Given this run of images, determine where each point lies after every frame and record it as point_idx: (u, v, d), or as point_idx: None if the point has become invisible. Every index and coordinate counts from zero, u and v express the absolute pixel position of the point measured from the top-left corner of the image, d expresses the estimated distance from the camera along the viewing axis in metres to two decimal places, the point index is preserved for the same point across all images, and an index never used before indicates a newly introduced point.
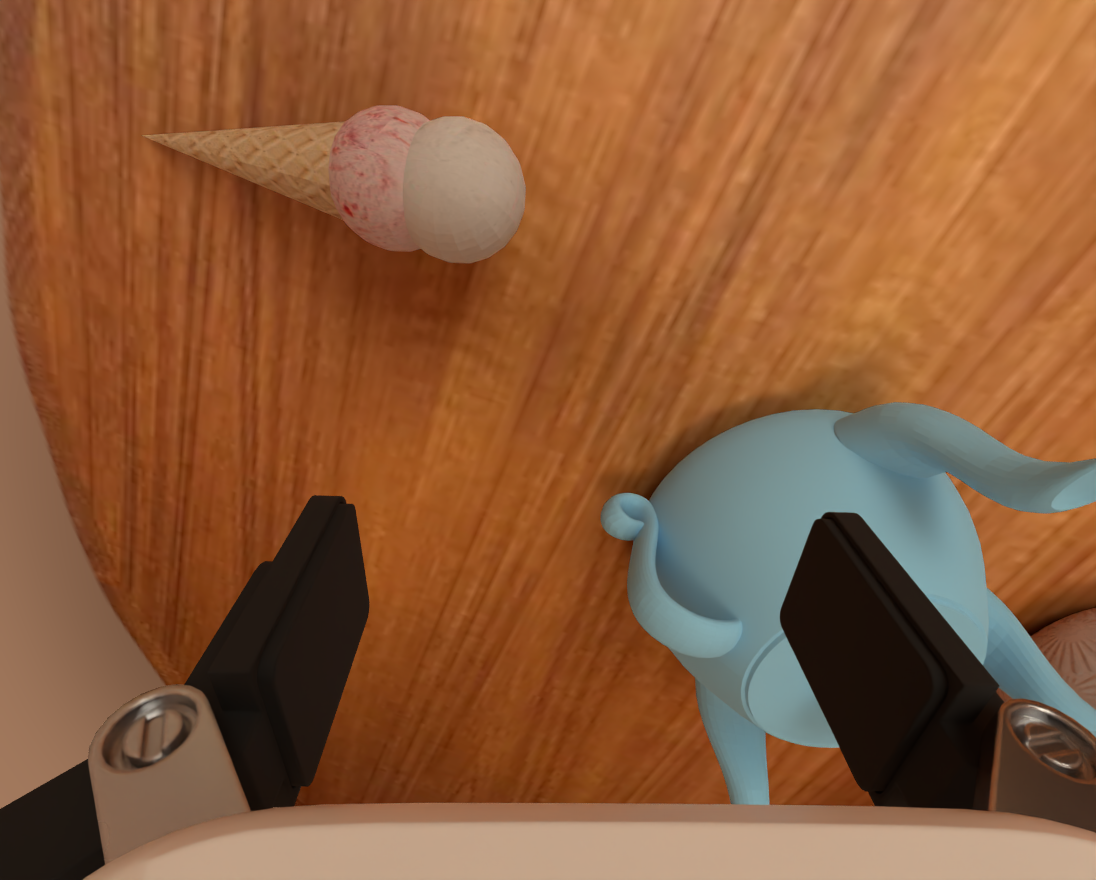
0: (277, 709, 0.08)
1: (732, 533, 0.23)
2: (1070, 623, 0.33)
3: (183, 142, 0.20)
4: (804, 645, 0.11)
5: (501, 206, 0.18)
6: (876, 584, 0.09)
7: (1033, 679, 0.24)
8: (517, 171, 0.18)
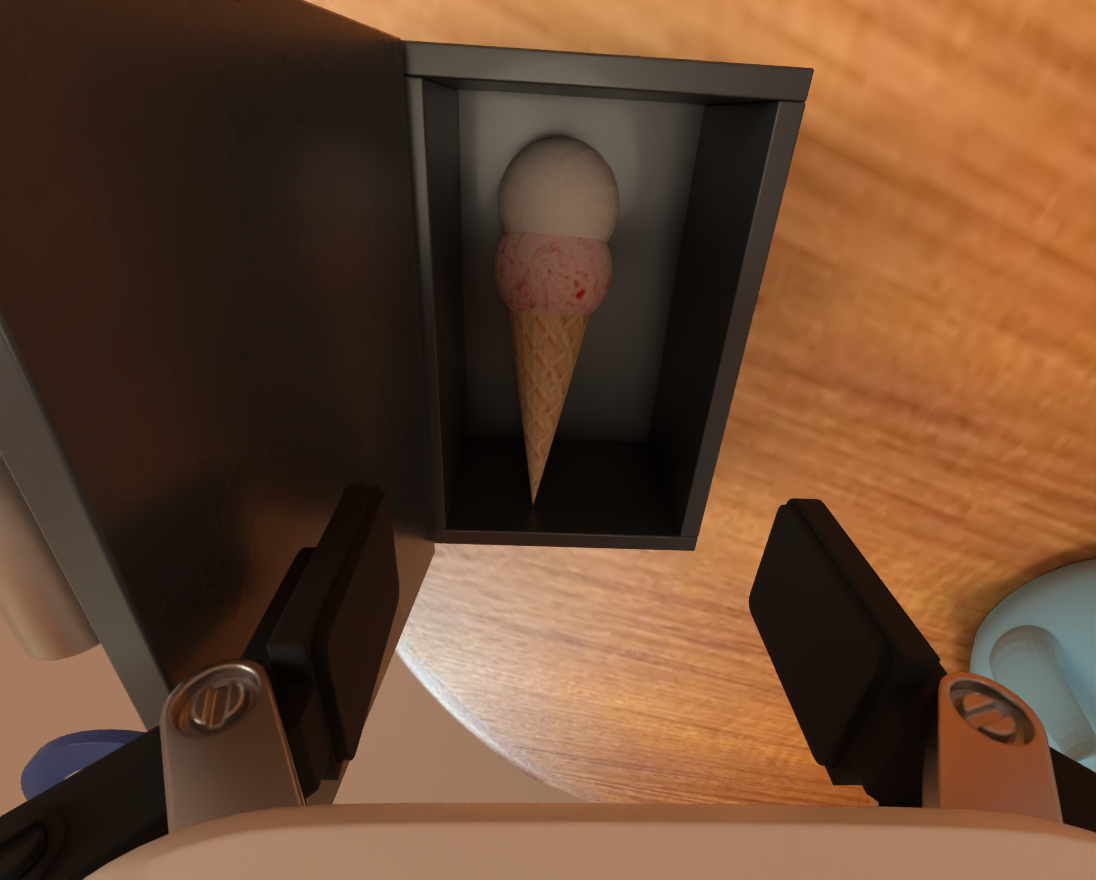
0: (327, 683, 0.08)
1: None
2: None
3: (535, 465, 0.24)
4: (769, 628, 0.11)
5: (567, 143, 0.19)
6: (832, 566, 0.09)
7: None
8: None
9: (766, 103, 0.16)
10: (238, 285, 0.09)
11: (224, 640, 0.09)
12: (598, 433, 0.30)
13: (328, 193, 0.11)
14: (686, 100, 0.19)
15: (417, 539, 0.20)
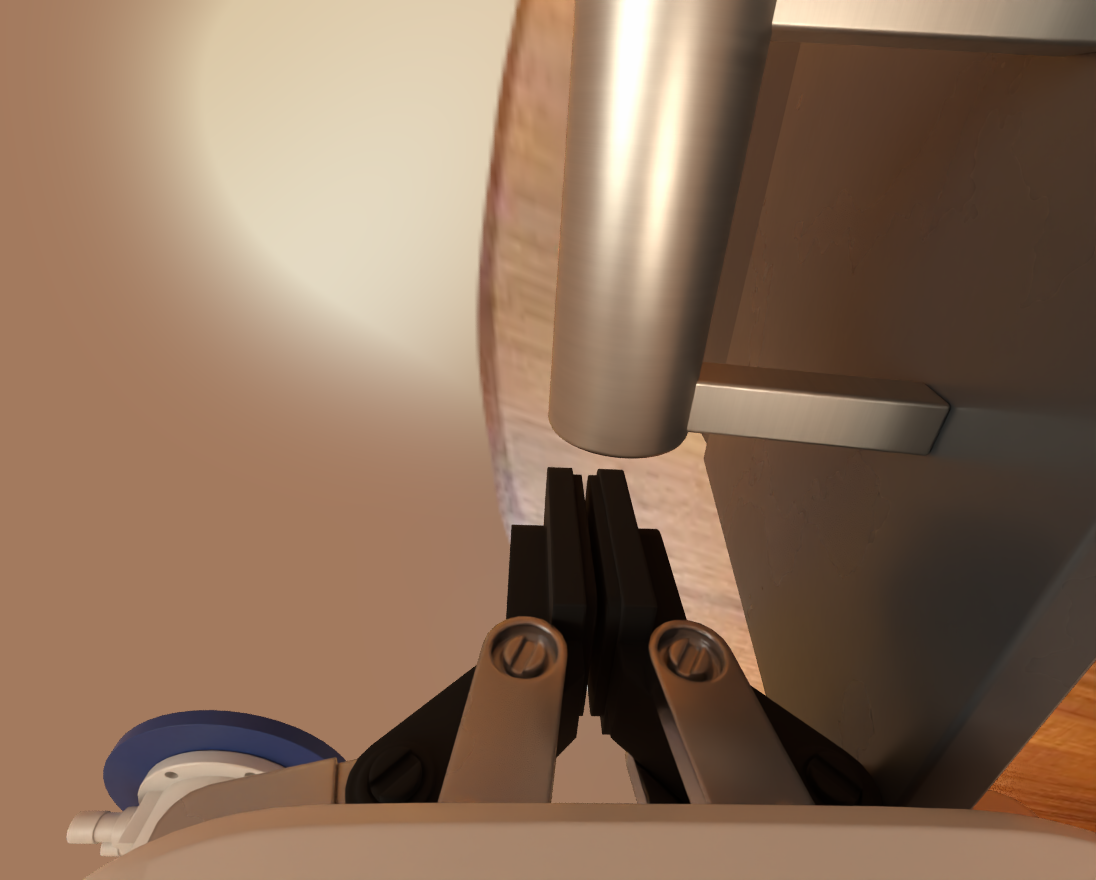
0: (587, 642, 0.09)
1: None
2: None
3: None
4: None
5: None
6: (604, 528, 0.10)
7: None
8: None
9: None
10: None
11: None
12: None
13: None
14: None
15: None
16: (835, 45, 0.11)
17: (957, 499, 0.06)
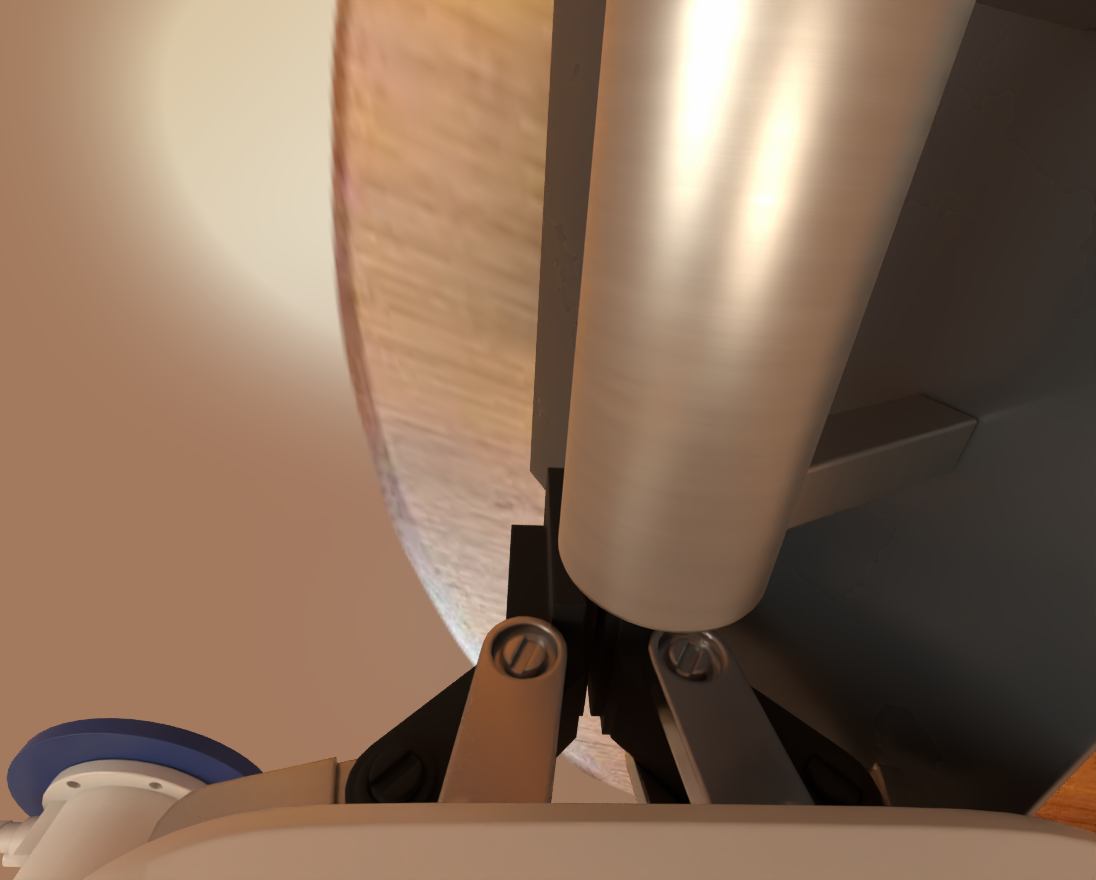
0: (587, 641, 0.09)
1: None
2: None
3: None
4: None
5: None
6: None
7: None
8: None
9: None
10: None
11: None
12: None
13: None
14: None
15: None
16: None
17: (1017, 519, 0.06)
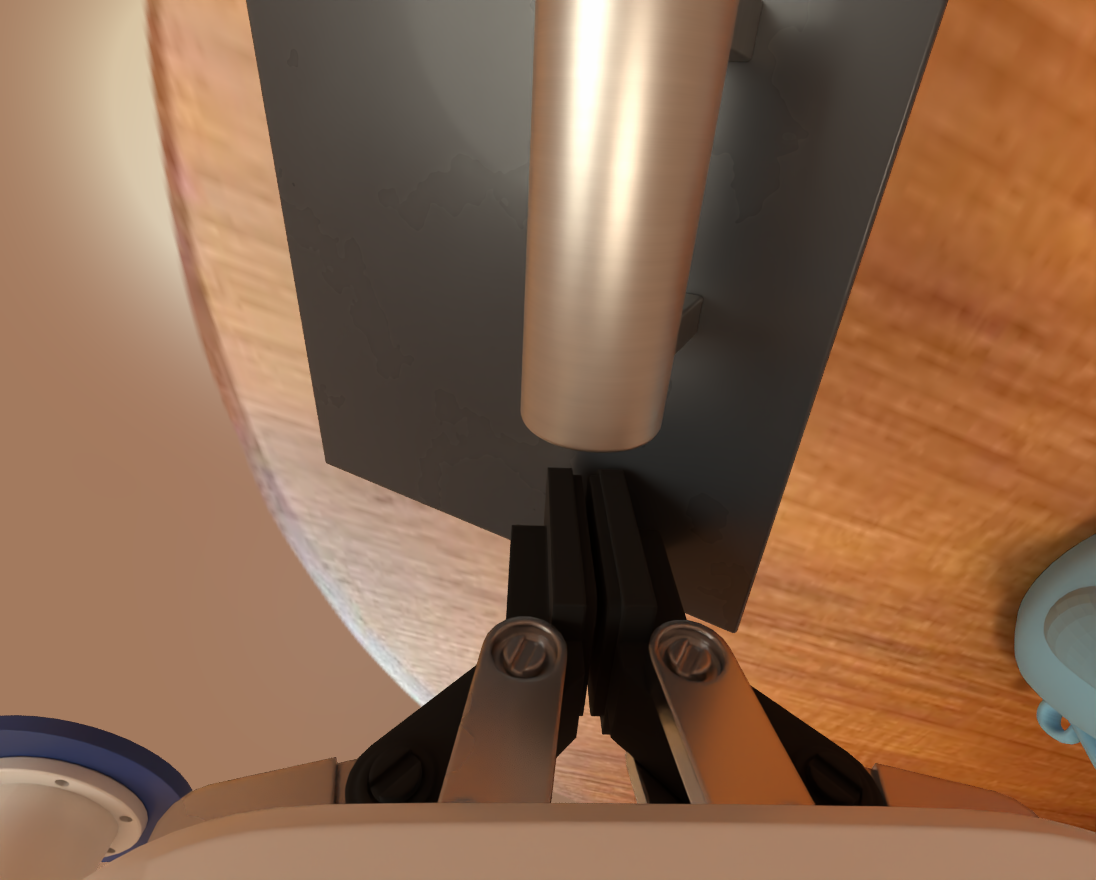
0: (587, 642, 0.09)
1: None
2: None
3: None
4: None
5: None
6: (604, 528, 0.10)
7: None
8: None
9: None
10: None
11: None
12: None
13: None
14: None
15: None
16: (341, 1, 0.10)
17: (736, 349, 0.10)
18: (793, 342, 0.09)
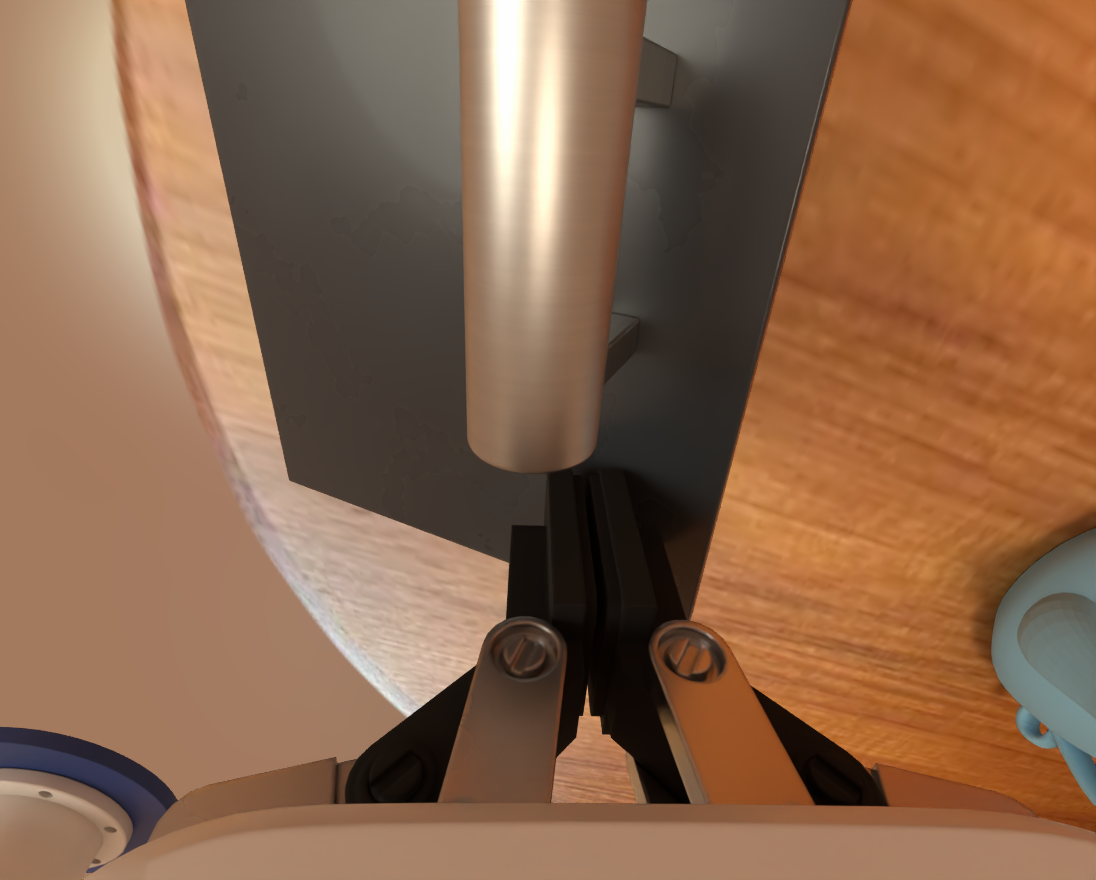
0: (587, 642, 0.09)
1: (1085, 750, 0.31)
2: None
3: None
4: None
5: None
6: (604, 528, 0.10)
7: None
8: None
9: None
10: None
11: None
12: None
13: None
14: None
15: None
16: (287, 39, 0.11)
17: (671, 367, 0.10)
18: (722, 359, 0.10)
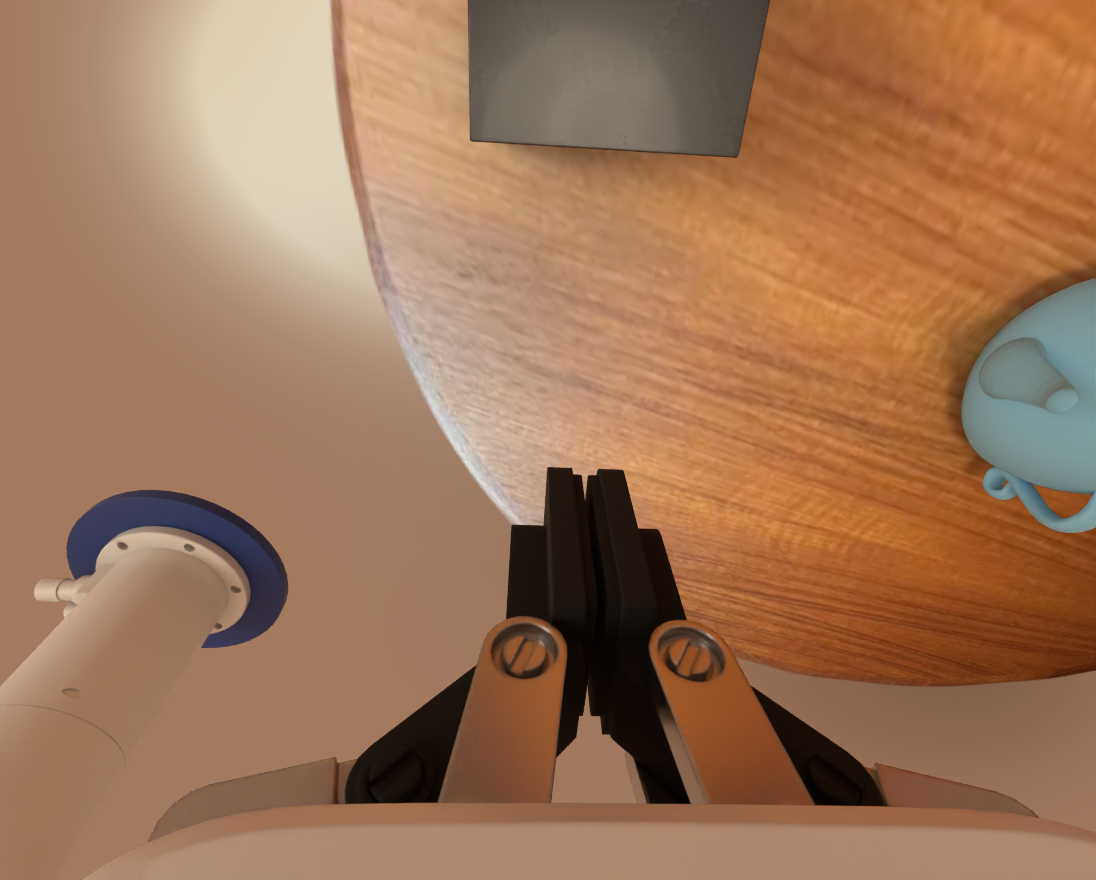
0: (587, 641, 0.09)
1: (1032, 472, 0.39)
2: None
3: None
4: None
5: None
6: (604, 528, 0.10)
7: None
8: None
9: None
10: None
11: None
12: None
13: None
14: None
15: None
16: None
17: None
18: None
